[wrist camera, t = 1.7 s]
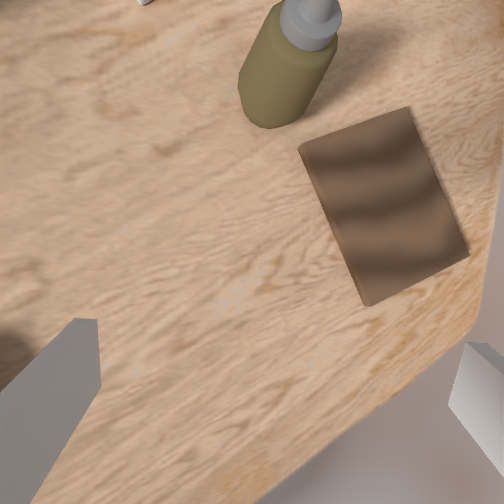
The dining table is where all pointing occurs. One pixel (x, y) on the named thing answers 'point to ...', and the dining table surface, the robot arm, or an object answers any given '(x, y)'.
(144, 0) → the medicine bottle
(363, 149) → the walnut board
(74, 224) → the dining table surface
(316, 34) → the squeeze bottle
